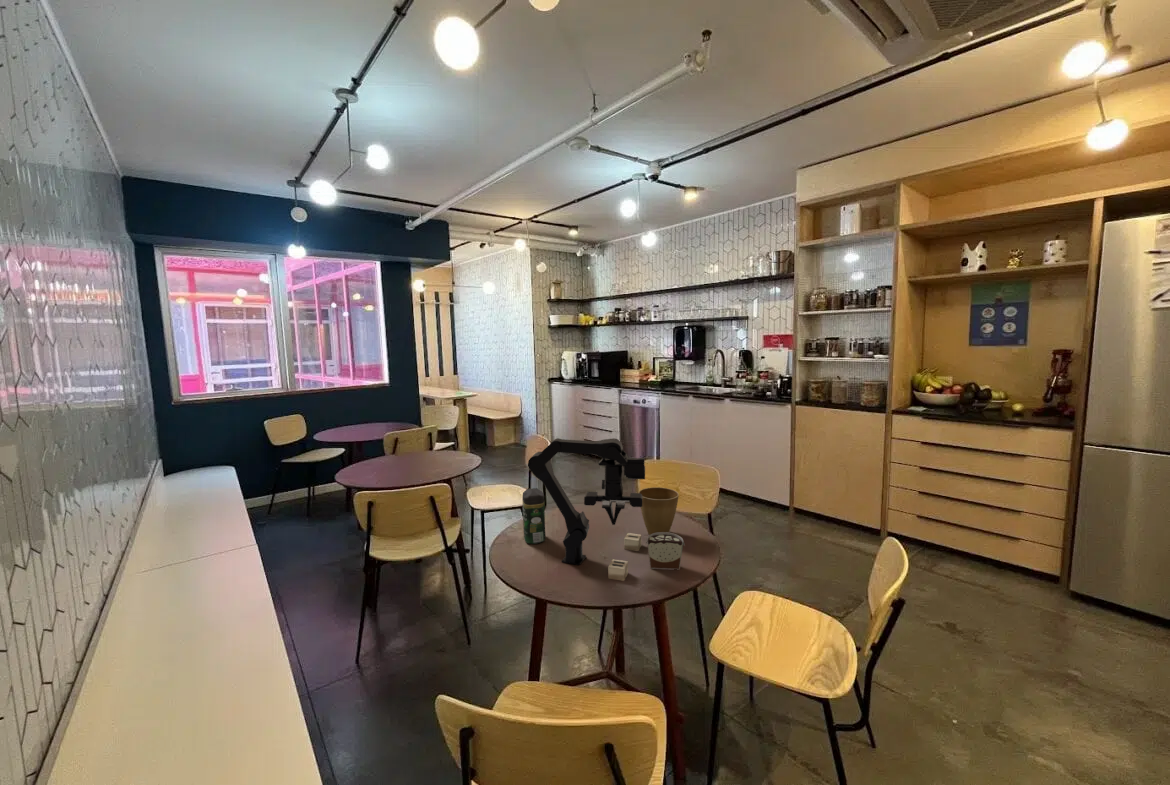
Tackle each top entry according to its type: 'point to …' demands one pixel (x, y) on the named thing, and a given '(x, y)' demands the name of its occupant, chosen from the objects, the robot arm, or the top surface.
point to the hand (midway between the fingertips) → (613, 524)
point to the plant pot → (658, 508)
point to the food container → (665, 550)
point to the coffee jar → (533, 516)
